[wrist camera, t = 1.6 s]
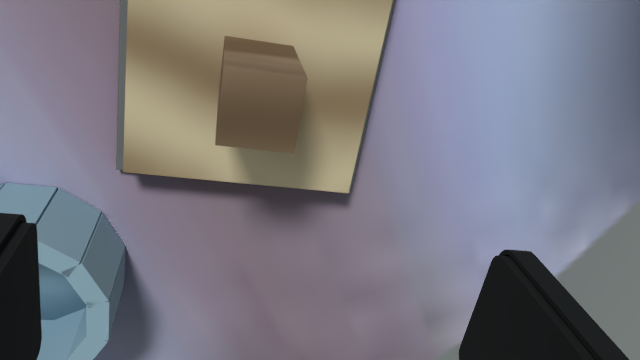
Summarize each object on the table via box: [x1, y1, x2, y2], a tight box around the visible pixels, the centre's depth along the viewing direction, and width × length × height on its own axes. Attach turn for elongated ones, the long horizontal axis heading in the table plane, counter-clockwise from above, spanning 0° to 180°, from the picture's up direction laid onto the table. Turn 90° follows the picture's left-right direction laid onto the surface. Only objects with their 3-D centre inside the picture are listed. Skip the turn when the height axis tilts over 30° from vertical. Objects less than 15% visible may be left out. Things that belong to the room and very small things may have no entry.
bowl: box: [0, 183, 126, 360], centre depth 27 cm, size 9×9×4 cm
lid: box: [123, 0, 393, 193], centre depth 23 cm, size 11×11×6 cm
